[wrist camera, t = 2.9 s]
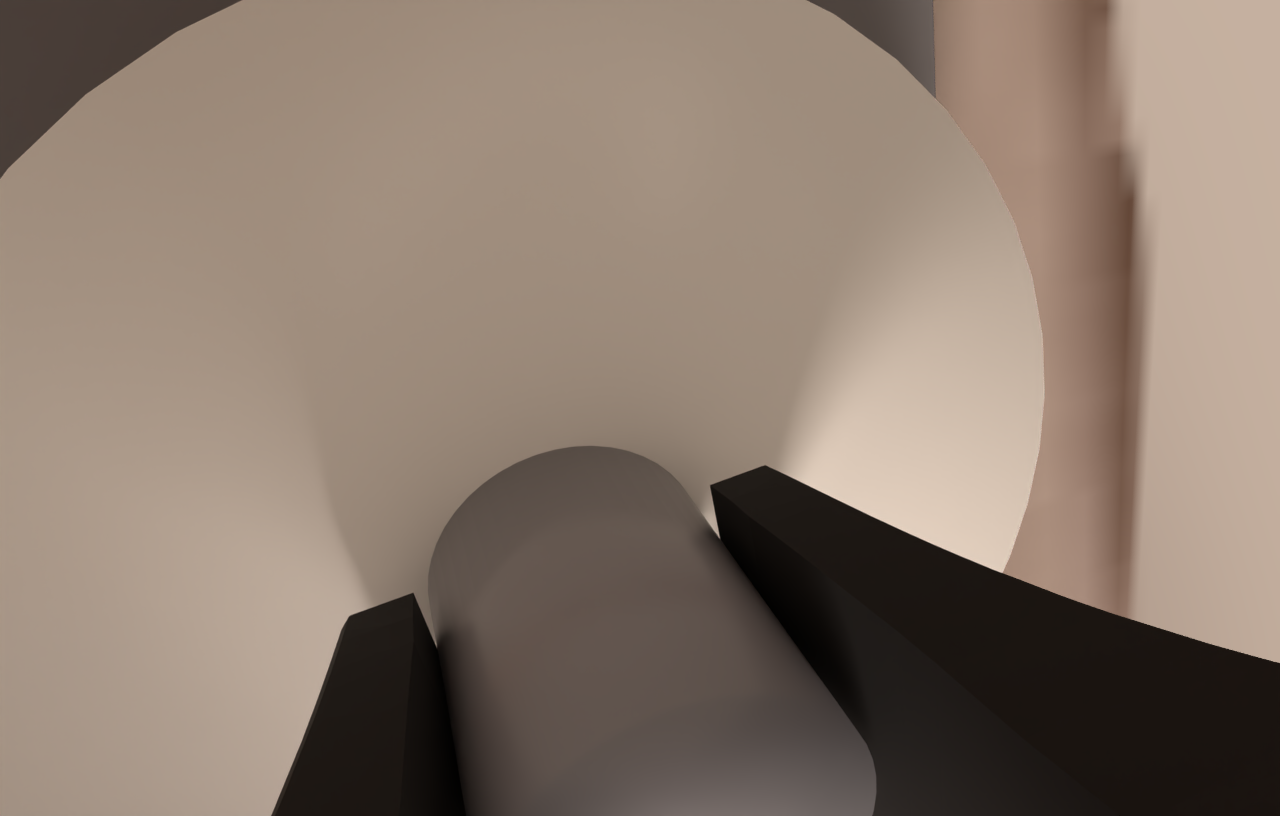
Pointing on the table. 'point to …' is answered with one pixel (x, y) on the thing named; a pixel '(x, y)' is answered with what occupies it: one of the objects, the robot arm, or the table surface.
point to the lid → (483, 392)
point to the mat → (165, 3)
